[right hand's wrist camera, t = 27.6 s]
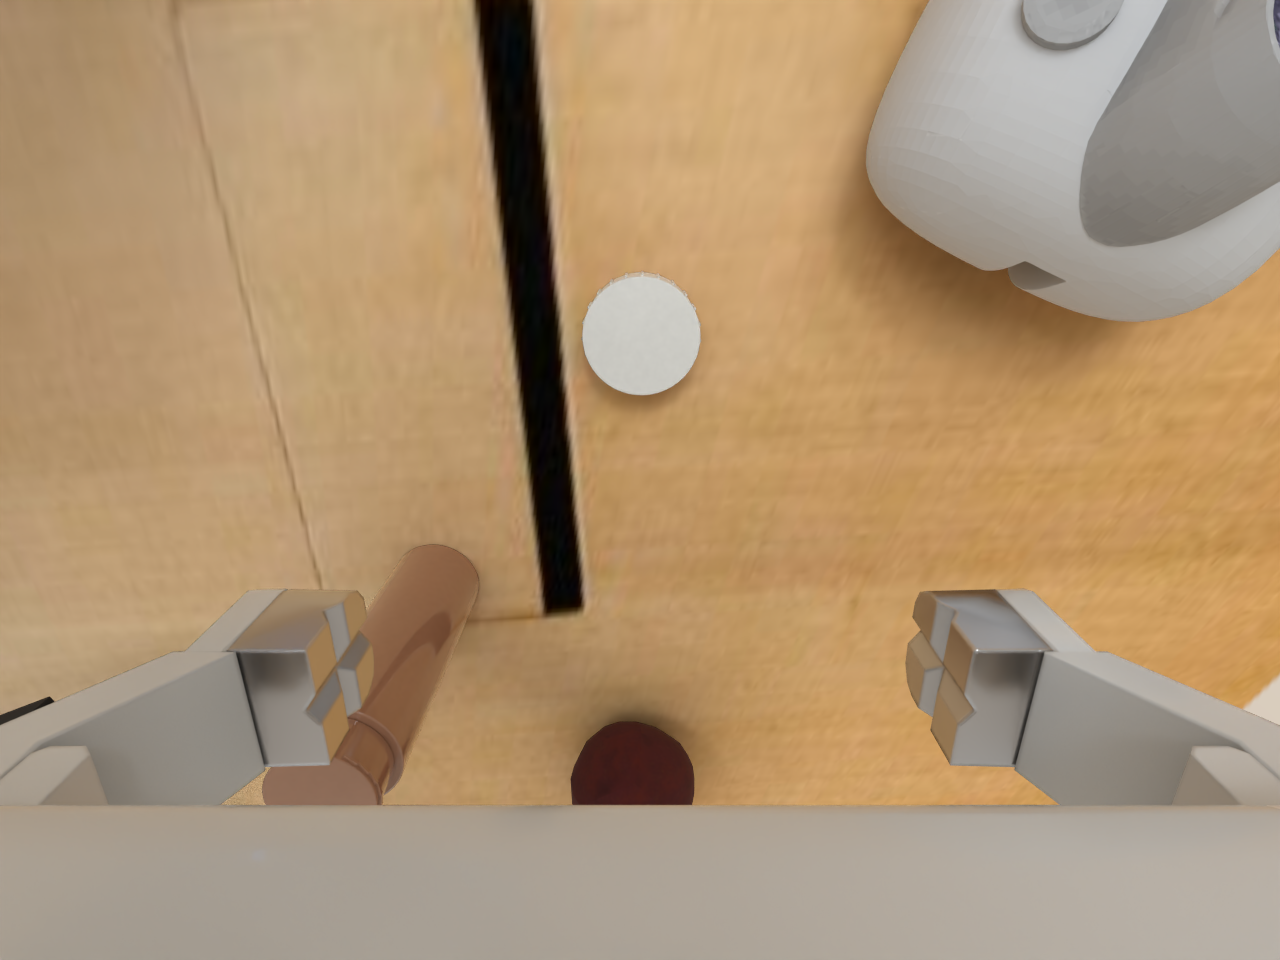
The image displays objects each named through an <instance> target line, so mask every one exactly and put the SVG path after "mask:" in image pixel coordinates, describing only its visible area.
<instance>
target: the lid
mask: <svg viewBox="0 0 1280 960" xmlns="http://www.w3.org/2000/svg"><path fill="white" fill-rule="evenodd" d="M695 310H696V308H695V306H694V304H691V302H690V300H689V299H688V297H687V294H686V292H685V291H684V290H683V291H682V290H681V289H680V288H679V287H678V286H677V285H676V284H675V283H674V281H673V280H671V281H670V280H669V279H667V278H664V277H662V276H660V275H659V273H657V275H656V274H653V273H646V272H643V271H641V272H637V273H630V274H628V273H625V275H623V276H621V277H618V278H616V279H614V280H613V279H611V280H610V283H608V284H607V285H606V286H604V287H603V288H602V289H599V290H598V292H597V295H596V297H595V298H594V300H593V302H590V304H589V306H588V312H587V314H586V317H585V318H584V320H583V323H582V324H583V332H582V340H583V347H584V351H585V356H586V358H587V360H588V362H589V364H590V366H591V367H592V369H593V371H594V372H595V373H596V374H597V376H598V377H599V378H600V379H601V380H602V381H604V382H605V383H606V384H608V385H609V386H611V387H612V388H614V389H616V390H618V391H621V392H624V393H627V394H633V395H651V394H655V393H659V392H662V391H664V390H667V389H669V388H670V387H672V386H674V385H675V384H677V383H678V382H679V381H680V380H681V379H682V378H683V377H684V376H685V375H686V374H687V373H688V372H689V370H690V369H691V367H692V366H693V364H694V362H695V359H696V358H697V354H698V351H699V346H700V342H701V339H700V326H701V324H700V322H699V320H698V317H697V315H696V312H695Z"/></svg>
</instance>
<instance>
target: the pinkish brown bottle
mask: <svg viewBox="0 0 1280 960" xmlns="http://www.w3.org/2000/svg"><path fill="white" fill-rule="evenodd" d="M478 590H479V580H478V576H477V573H476V571H475V568H474V567H473V565H472V564H471V563H470V561H469V560H468V559H467V558H466V557H465V556H463V555H462V554H461V553H459V552H458V551H456V550H454V549H452V548H449V547H446V546H441V545H424V546H420V547H417V548H414V549H412V550H411V551H409V552H408V553H406V554H405V555H404V556H403V557H402V558H401V560H400V561H399V563H398V564H397V565H396V567H395V568H394V570H393V571H392V573H391V574H390V576H389V577H388V579H387V580H386V582H385V583H384V585H383V586H382V587H381V589H380V590H379V592H378V593H377V595H376V596H375V598H374V599H373V601H372V602H371V604H370V605H369V606H368V608H367V609H366V612H367V619H366V620H365V622H364V623H363V625H362V626H361V628H360V630H359V631H360V632H361V633H362V634H363V635H364V636H365V637H366V638H367V639H368V640H369V641H370V642H371V643H372V647H373V654H374V676H373V680H372V685H371V689H370V693H369V695H368V697H367V699H366V701H365V703H364V705H363V707H362V708H361V709H359V710H358V711H356V712H355V713H353V714H352V715H350V716H348V717H347V719H348V724H349V732H348V734H347V735H346V737H345V739H344V741H343V742H342V744H341V746H340V748H339V750H338V751H337V753H336V755H335V757H334V758H333V760H332V762H331V764H330V765H320V766H285V767H271V768H270V769H269V771H268V772H267V774H266V776H265V778H264V781H263V787H262V793H263V798H264V802H265V804H266V805H382V804H383V795H385V794H386V793H388V792H389V791H390V790H391V789H392V788H393V787H395V785H396V784H397V783H398V781H399V780H400V778H401V776H402V774H403V771H404V769H405V766H406V764H407V762H408V759H409V757H410V754H411V752H412V750H413V747H414V745H415V743H416V740H417V738H418V735H419V733H420V731H421V728H422V726H423V724H424V721H425V719H426V716H427V714H428V712H429V709H430V707H431V705H432V702H433V700H434V697H435V695H436V693H437V690H438V688H439V685H440V683H441V681H442V678H443V676H444V674H445V671H446V669H447V666H448V664H449V662H450V659H451V657H452V655H453V652H454V650H455V647H456V645H457V643H458V640H459V638H460V636H461V633H462V631H463V628H464V626H465V624H466V621H467V619H468V616H469V614H470V612H471V609H472V607H473V605H474V602H475V600H476V597H477V594H478Z"/></svg>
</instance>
